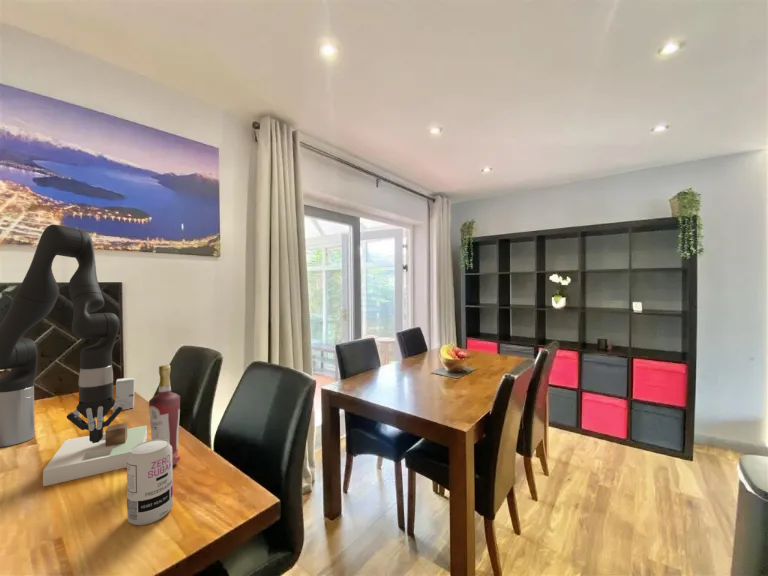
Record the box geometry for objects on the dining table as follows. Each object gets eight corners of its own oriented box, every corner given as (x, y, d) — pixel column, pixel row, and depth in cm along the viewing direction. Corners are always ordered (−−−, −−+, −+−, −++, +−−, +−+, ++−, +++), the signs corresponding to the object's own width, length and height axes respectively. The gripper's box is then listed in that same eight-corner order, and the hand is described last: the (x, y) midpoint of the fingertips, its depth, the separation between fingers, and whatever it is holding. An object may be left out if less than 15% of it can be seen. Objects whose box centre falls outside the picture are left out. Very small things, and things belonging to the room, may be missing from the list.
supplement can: (142, 503, 77) (142, 438, 77) (180, 501, 78) (179, 437, 78) (117, 528, 69) (117, 456, 69) (159, 526, 70) (159, 454, 70)
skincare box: (115, 411, 135) (114, 381, 135) (116, 408, 139) (116, 379, 139) (134, 408, 139) (133, 379, 139) (135, 405, 143) (134, 376, 143)
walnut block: (105, 446, 97) (105, 431, 97) (108, 440, 101) (108, 425, 101) (125, 443, 99) (124, 427, 99) (127, 437, 103) (127, 422, 103)
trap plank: (43, 486, 84) (42, 470, 84) (66, 452, 101) (66, 439, 101) (140, 464, 95) (140, 450, 95) (146, 437, 112) (146, 425, 112)
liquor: (186, 461, 96) (186, 364, 96) (162, 475, 89) (161, 370, 89) (168, 457, 98) (167, 362, 98) (143, 470, 91) (142, 368, 91)
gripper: (126, 376, 104) (126, 432, 104) (69, 382, 97) (69, 442, 97) (123, 382, 97) (122, 441, 97) (61, 389, 91) (61, 453, 91)
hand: (96, 441), depth 97 cm, fingers closed
